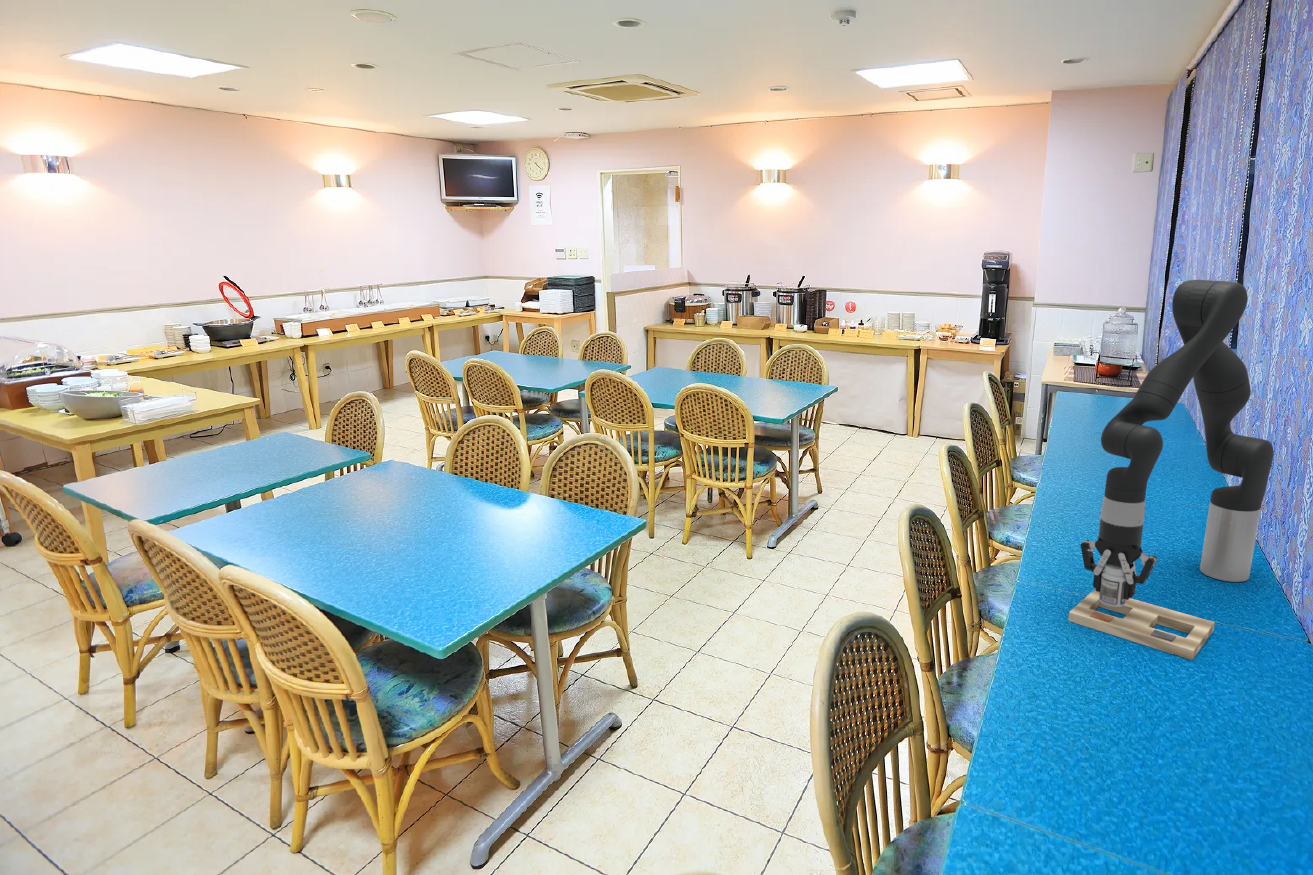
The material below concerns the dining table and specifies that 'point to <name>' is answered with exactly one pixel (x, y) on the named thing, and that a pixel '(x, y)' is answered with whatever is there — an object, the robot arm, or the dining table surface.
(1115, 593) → the pill bottle
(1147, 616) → the socket board
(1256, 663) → the dining table surface
